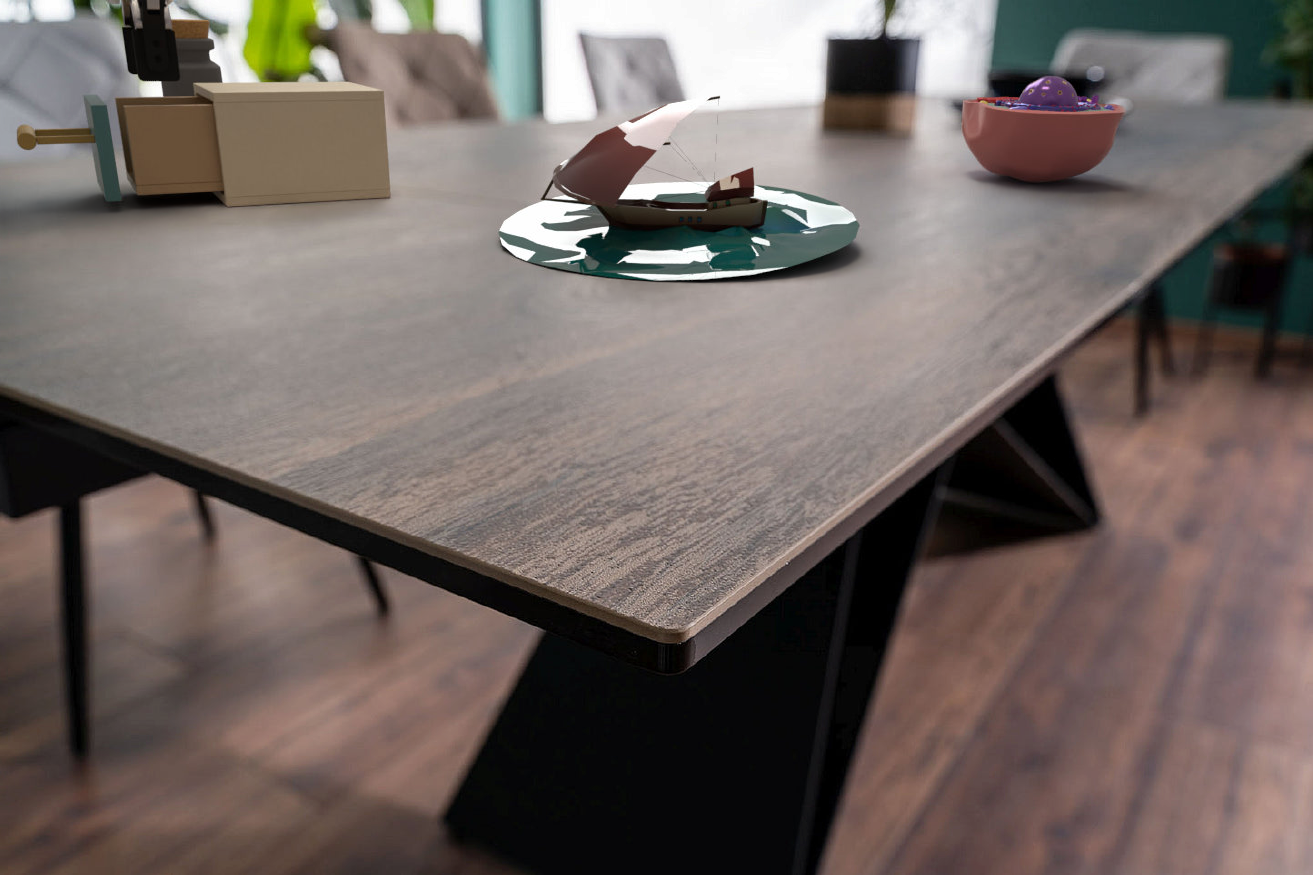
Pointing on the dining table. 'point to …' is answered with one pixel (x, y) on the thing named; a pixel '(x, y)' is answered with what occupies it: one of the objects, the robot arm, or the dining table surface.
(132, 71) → the robot arm
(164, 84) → the bottle
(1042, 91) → the cell model
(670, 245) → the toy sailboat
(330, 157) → the cabinet
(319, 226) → the dining table surface
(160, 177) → the drawer
